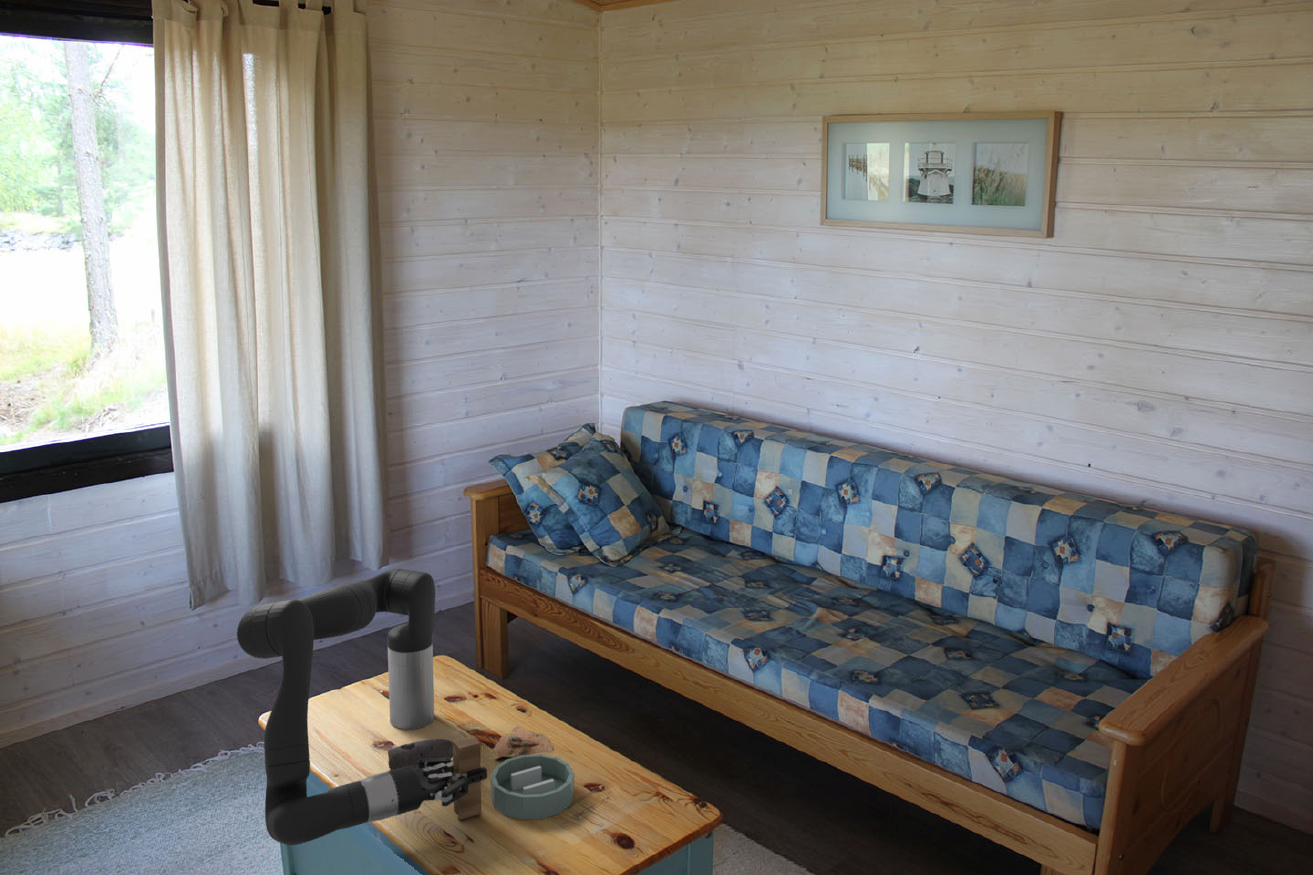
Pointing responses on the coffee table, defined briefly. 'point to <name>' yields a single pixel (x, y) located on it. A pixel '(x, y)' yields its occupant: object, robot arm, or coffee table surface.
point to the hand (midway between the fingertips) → (481, 767)
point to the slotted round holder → (532, 786)
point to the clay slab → (521, 744)
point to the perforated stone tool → (419, 752)
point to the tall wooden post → (463, 761)
